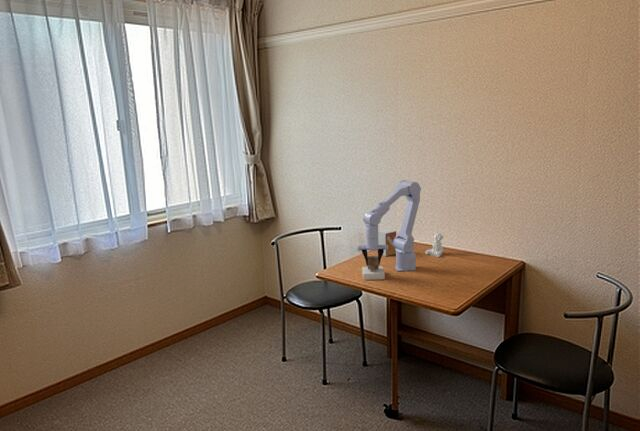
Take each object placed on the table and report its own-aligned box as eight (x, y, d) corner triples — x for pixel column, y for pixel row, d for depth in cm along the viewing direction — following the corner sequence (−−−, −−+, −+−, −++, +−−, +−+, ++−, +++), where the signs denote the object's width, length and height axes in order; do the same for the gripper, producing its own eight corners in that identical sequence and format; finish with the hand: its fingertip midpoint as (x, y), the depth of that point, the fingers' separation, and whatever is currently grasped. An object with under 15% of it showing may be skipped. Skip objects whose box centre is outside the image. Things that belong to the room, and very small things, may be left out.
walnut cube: (377, 265, 228) (377, 255, 227) (378, 269, 223) (378, 259, 222) (367, 266, 228) (367, 256, 227) (368, 269, 223) (367, 259, 222)
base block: (382, 271, 231) (382, 266, 230) (384, 279, 221) (384, 273, 220) (362, 272, 231) (362, 266, 230) (363, 279, 221) (363, 273, 221)
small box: (385, 256, 254) (385, 233, 251) (378, 254, 259) (377, 231, 257) (396, 253, 258) (396, 230, 256) (389, 251, 264) (388, 228, 261)
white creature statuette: (424, 254, 255) (424, 232, 253) (434, 250, 260) (434, 229, 258) (438, 257, 248) (438, 236, 245) (448, 254, 253) (448, 233, 250)
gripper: (386, 234, 225) (387, 261, 228) (356, 235, 226) (357, 262, 229) (388, 238, 219) (388, 265, 222) (357, 239, 219) (358, 267, 222)
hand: (372, 264), depth 225 cm, fingers closed on walnut cube, 5 cm apart
